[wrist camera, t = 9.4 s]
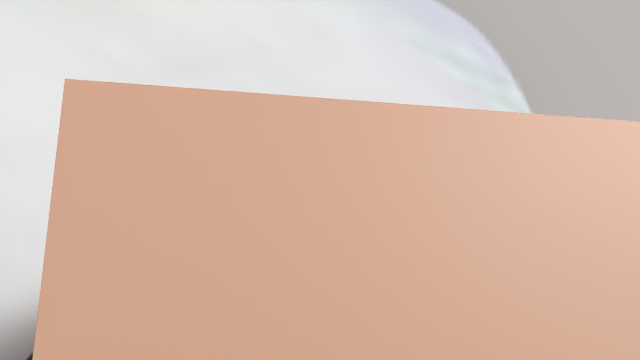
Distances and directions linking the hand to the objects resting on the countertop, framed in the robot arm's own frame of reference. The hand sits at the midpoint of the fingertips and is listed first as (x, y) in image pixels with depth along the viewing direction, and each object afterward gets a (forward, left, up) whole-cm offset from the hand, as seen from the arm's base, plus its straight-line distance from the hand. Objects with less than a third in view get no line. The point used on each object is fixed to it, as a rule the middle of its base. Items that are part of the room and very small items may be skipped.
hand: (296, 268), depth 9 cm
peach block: (-1, 0, -7) cm, 7 cm away
